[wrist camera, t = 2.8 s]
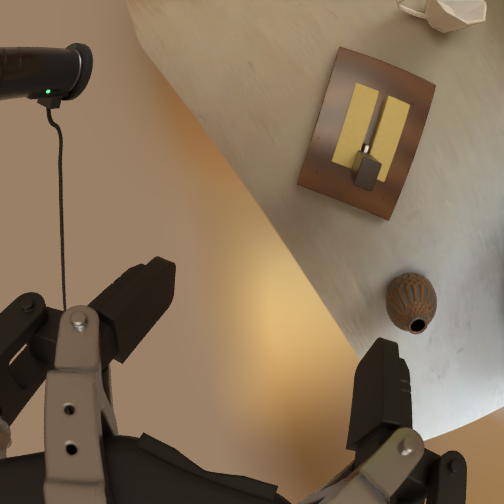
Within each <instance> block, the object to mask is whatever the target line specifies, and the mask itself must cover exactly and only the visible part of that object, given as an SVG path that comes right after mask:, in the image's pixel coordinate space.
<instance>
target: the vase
mask: <svg viewBox="0 0 504 504" xmlns="http://www.w3.org/2000/svg"><path fill="white" fill-rule="evenodd" d="M436 307H437V298H436V293H435V290H434V288H433V286H432V285H431V283H430V282H429V281H428V280H427V279H426V278H425V277H423V276H422V275H420V274H416V273H406V274H403V275H401V276H399V277H397V278H396V279H395V280H394V281H393V282H392V284H391V285H390V287H389V289H388V292H387V296H386V308H387V313H388V315H389V317H390V319H391V321H392V322H393V323H394V324H395V325H396V326H397V327H398V328H400V329H402V330H404V331H409V332H411V333H412V334H419V333H422V332H423V331H424V330H425V329H426V328H427V325H428V324H429V323H430V322H431V320H432V319H433V317H434V315H435V312H436Z"/></svg>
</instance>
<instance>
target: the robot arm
mask: <svg viewBox="0 0 504 504" xmlns="http://www.w3.org/2000/svg"><path fill="white" fill-rule="evenodd" d="M82 70H83V57H82V54H81V52H80V51H79V50H77V49H63V48H46V47H1V48H0V100H6V99H13V98H22V97H26V98H28V99H38V101H37V103H39V104H41V105H43V106H45V107H46V109H47V118H48V121H49V123H50V125H51V126H53V127H55V128H56V129H57V132H58V136H59V157H58V159H59V160H58V168H59V204H60V205H59V206H60V236H61V265H62V290H63V305H64V311H61V310H57V309H53V308H50V307H46V304H45V301H44V299H43V297H42V296H41V295H39V294H38V293H34V292H29V293H25V294H22V295H21V296H19V297H18V298H16V299H15V300H14V301H13V302H12V303H11V304H10V305H9V306H8V307H7V308H5V310H3V311H2V312H1V313H0V504H291V503H290V502H289V501H288V500H287V499H285V498H284V497H282V496H281V495H279V494H278V493H276V491H277V488H278V486H276V485H273V484H269V483H265V482H262V481H259V480H255V479H252V478H249V477H245V476H239V475H229V474H222V473H215V472H209V471H205V470H203V469H202V468H200V467H199V466H198V465H196V464H195V463H193V462H192V461H191V460H189V459H188V458H187V457H185V456H184V455H183V454H181V453H180V452H179V451H177V450H176V449H175V448H173V447H171V446H169V445H167V444H165V443H163V442H161V441H159V440H157V439H155V438H153V437H151V436H149V435H147V434H145V433H143V434H142V435H141V437H140V438H137V437H132V436H122V435H118V428H117V423H116V419H115V415H114V409H113V399H112V386H111V370H110V362H111V361H112V360H113V359H115V360H117V361H118V362H120V363H122V364H123V363H124V361H125V360H126V359H127V358H128V356H129V355H130V354H131V353H132V351H133V350H134V349H135V348H136V346H137V345H138V344H139V343H140V341H141V340H142V339H143V338H144V337H145V335H146V334H147V333H148V332H149V331H150V329H151V328H152V327H153V326H154V324H155V323H156V322H157V321H158V320H159V319H160V317H161V316H162V315H163V314H164V312H165V311H166V310H167V309H168V308H169V306H170V304H171V302H172V300H173V296H174V285H175V272H176V265H175V263H173V262H171V261H168V260H165V259H163V258H161V257H158V256H157V257H155V258H153V259H152V260H151V261H150V262H149V263H148V264H147V265H144V264H139V265H136V266H134V267H132V268H129V269H128V270H127V271H126V272H124V273H123V274H122V275H121V277H119V278H118V279H116V280H115V281H114V283H113V284H111V285H110V286H108V287H107V288H106V289H105V290H104V291H103V292H102V293H101V294H99V296H97V297H96V298H95V299H94V300H93V301H92V302H91V303H90V304H89V305H88V306H81V305H80V306H74V307H71V308H69V309H68V310H66V293H65V261H64V223H63V179H62V178H63V177H62V151H63V137H62V132H61V129H60V127H59V125H57V124H56V123H54V122H53V120H52V117H51V110H50V109H55V108H59V107H60V103H61V99H62V97H68V96H70V95H71V92H72V90H73V89H74V88H75V87H76V85H77V84H78V82H79V80H80V77H81V74H82ZM25 344H26V345H27V346H26V347H25V348H24V350H23V351H22V352H21V353H20V354H19V355H18V356H17V357H16V359H15V360H14V361H13V362H12V363H11V364H10V365H9V362H10V361H11V359H12V358H13V357H14V356H15V354H16V353H17V352H18V351H19V350H20V349H21V348H22V347H23V346H24V345H25ZM45 379H46V387H45V404H44V405H45V406H44V446H45V447H44V448H45V451H44V452H39V453H34V454H28V455H22V456H15V457H9V458H6V449H7V448H9V447H10V446H11V443H12V442H11V438H10V436H11V432H10V428H9V427H10V425H11V424H12V423H13V421H14V420H15V419H16V417H17V416H18V414H19V413H20V412H21V410H22V409H23V408H24V406H25V405H26V404H27V402H28V401H29V400H30V398H31V397H32V396H33V394H34V393H35V392H36V390H37V389H38V388H39V387H40V385H41V384H42V383H43V381H44V380H45ZM410 392H411V386H410V373H409V369H408V367H407V365H406V363H405V360H404V359H402V358H399V350H398V344H397V343H396V342H393V341H390V340H387V339H384V338H380V337H379V338H377V339H376V341H375V342H374V343H373V345H372V346H371V348H370V349H369V350H368V352H367V353H366V354H365V356H364V357H363V359H362V360H361V361H360V363H359V364H358V367H357V369H356V373H355V378H354V388H353V398H352V408H351V416H350V425H349V432H348V439H347V445H346V449H348V450H353V451H356V454H355V460H353V461H352V462H351V463H350V464H349V465H348V466H347V467H346V468H344V469H343V470H342V471H341V472H340V473H338V474H337V475H336V476H335V477H334V478H333V479H331V480H330V481H329V482H328V483H326V484H325V485H324V486H323V487H321V488H320V489H319V490H317V491H316V492H314V493H313V494H311V495H309V496H308V497H306V498H305V499H303V500H302V501H300V502H298V503H297V504H424V501H425V499H426V498H427V500H426V504H465V500H466V481H467V480H466V479H467V466H466V462H465V459H464V457H463V456H462V455H461V454H460V453H459V452H457V451H448V452H447V453H445V454H443V455H442V456H440V455H438V454H436V453H434V452H432V451H430V450H427V449H426V448H424V443H423V440H422V438H421V436H420V435H419V434H418V433H417V432H416V431H415V430H413V428H412V401H411V394H410ZM389 498H390V500H389ZM388 500H389V501H388Z"/></svg>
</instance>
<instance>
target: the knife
mask: <svg viewBox="0 0 504 504" xmlns="http://www.w3.org/2000/svg"><path fill="white" fill-rule="evenodd" d="M368 149H369V146H368V145H366V144H364V143H363V146H362V149H361V151H360V150H358V151H357V154H356V157H355V160H354V163H353V166H352V169H351V174H352V179H353V185H355V186H358V187H360V188H363V189H365V190H367V191H370V192H372V190H373V188H374V185H375V183H376V180H377V177H378V175H379V172H380V169H381V166H382V164H381V163H380V162H379V161H378V160H377V159H375V158H374V157H373V156H372V155H370V154H367V152H368Z"/></svg>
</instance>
